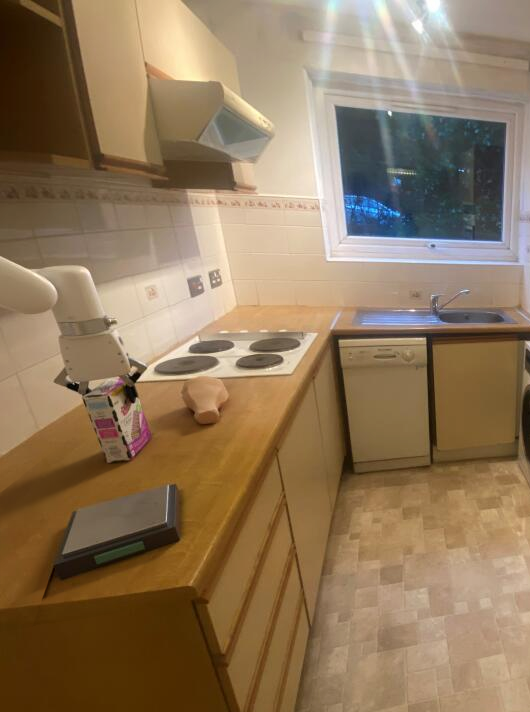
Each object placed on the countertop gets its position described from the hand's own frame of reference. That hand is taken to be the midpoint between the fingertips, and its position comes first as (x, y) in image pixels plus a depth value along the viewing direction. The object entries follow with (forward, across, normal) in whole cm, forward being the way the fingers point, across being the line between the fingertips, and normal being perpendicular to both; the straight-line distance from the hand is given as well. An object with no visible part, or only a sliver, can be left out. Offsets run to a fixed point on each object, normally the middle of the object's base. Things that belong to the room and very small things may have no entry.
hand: (114, 404), depth 97 cm
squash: (+12, -16, -14) cm, 24 cm away
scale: (+12, -2, +35) cm, 37 cm away
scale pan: (+9, -2, +35) cm, 36 cm away
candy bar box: (+12, 0, 0) cm, 12 cm away
